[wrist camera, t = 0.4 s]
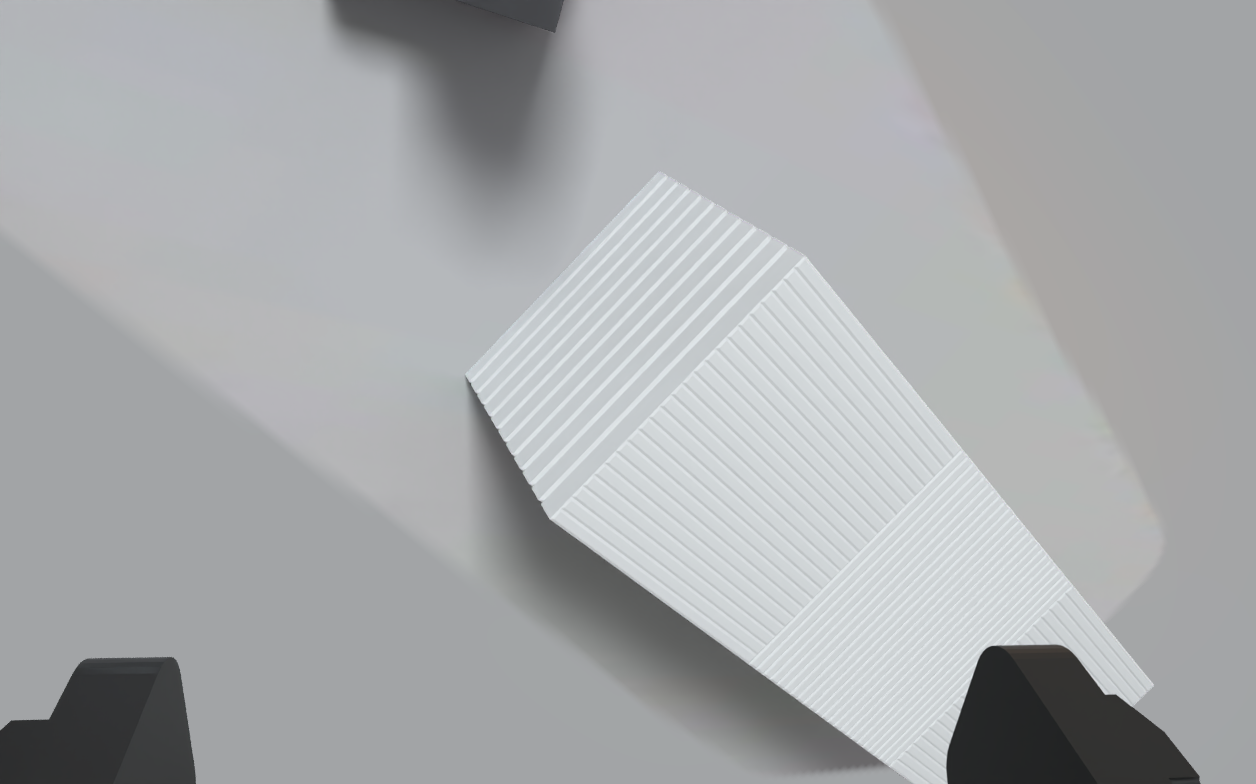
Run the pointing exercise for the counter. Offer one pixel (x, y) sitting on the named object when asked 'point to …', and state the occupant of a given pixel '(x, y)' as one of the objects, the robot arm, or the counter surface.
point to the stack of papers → (776, 477)
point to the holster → (524, 10)
